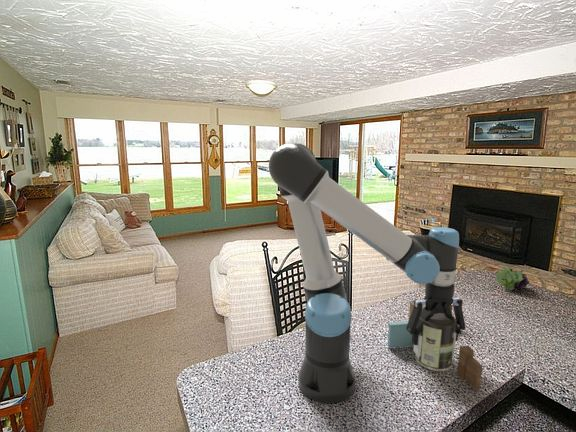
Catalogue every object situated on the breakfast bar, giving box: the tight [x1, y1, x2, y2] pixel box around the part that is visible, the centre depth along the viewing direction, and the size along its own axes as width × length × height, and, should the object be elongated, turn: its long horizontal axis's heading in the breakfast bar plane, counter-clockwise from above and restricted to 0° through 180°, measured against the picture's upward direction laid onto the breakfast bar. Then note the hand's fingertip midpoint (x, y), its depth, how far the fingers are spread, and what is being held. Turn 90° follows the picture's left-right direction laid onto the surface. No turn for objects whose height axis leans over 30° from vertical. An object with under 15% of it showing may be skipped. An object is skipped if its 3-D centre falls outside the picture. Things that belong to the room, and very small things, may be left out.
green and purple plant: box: [495, 266, 530, 292], centre depth 151 cm, size 10×11×15 cm
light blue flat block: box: [387, 320, 414, 349], centre depth 107 cm, size 15×2×8 cm, turn 98°
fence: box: [408, 301, 483, 391], centre depth 104 cm, size 15×34×9 cm, turn 8°
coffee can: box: [414, 310, 456, 372], centre depth 99 cm, size 10×10×14 cm
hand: (433, 352), depth 100 cm, fingers closed on coffee can, 10 cm apart
